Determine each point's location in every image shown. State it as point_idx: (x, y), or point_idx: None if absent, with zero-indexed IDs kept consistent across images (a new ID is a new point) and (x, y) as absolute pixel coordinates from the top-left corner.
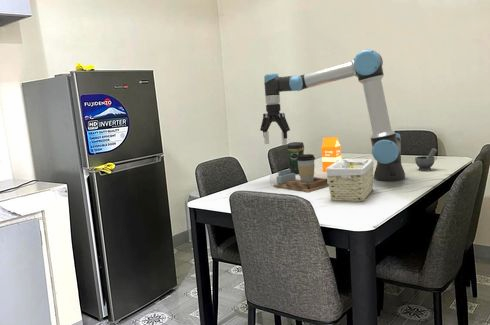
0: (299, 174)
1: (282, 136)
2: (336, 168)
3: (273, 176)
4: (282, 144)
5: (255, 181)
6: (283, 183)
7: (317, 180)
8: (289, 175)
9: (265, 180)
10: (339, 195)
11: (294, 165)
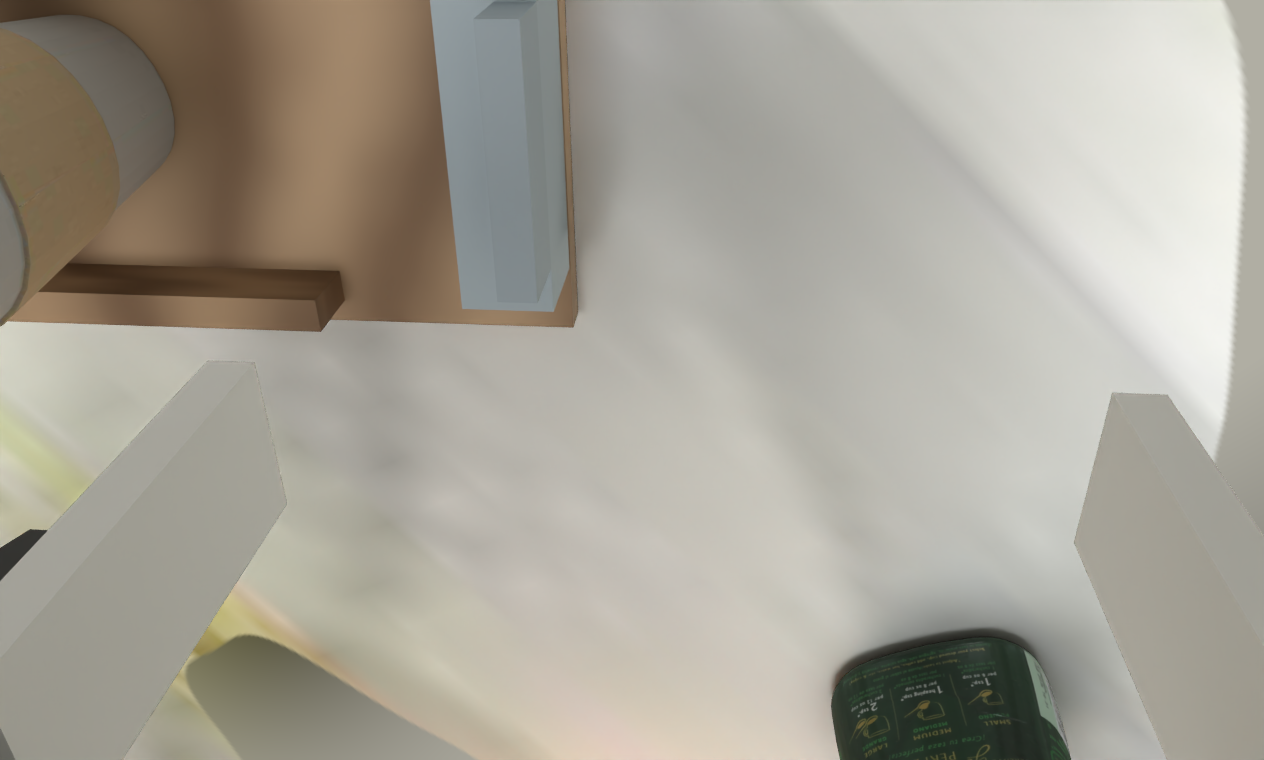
0: (22, 50)
1: (40, 546)
2: None
3: None
4: (228, 370)
5: (1218, 15)
6: None
7: (76, 278)
8: (451, 175)
9: (1080, 163)
10: None
11: (940, 731)
